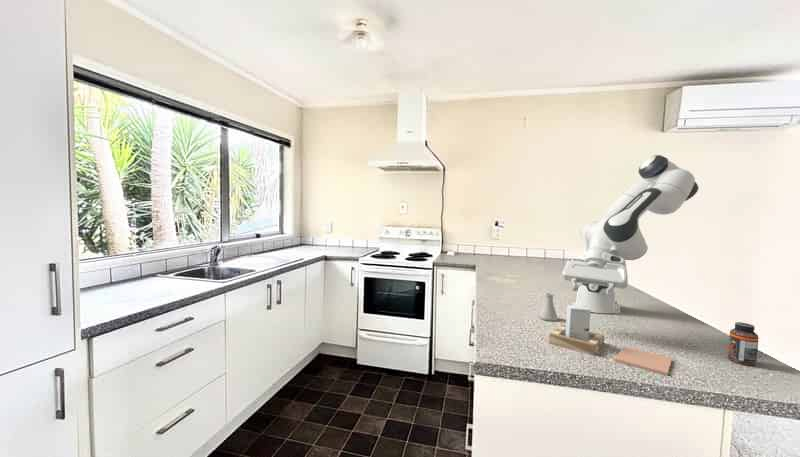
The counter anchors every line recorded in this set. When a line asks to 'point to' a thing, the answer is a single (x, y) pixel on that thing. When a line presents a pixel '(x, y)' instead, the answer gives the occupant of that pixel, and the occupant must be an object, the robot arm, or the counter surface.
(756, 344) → the supplement bottle
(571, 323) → the skincare box
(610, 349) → the counter surface
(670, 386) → the counter surface
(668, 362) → the terracotta tile
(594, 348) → the light wooden square frame
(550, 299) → the flask
